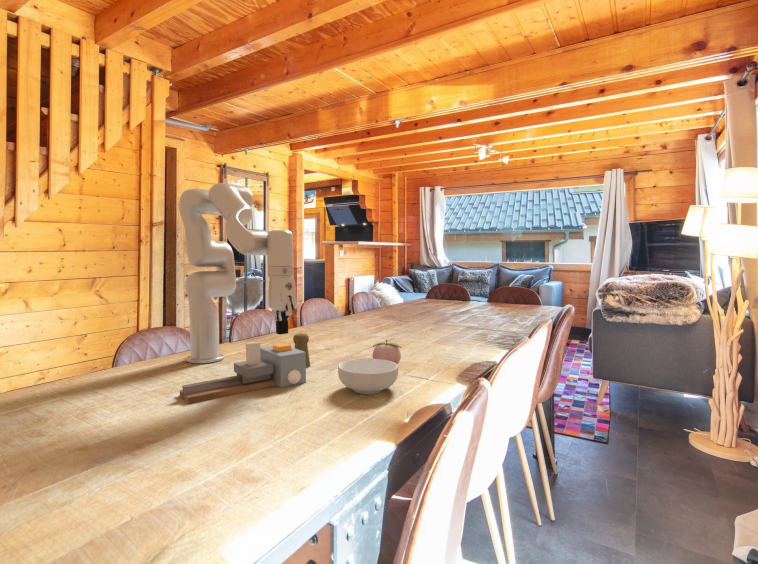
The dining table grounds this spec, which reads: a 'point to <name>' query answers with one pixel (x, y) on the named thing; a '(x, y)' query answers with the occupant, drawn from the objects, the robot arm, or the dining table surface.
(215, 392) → the rail track
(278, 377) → the grey button housing
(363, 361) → the cereal bowl
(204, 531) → the dining table surface
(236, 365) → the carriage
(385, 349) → the decorative fruit
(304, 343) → the cork
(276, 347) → the button
